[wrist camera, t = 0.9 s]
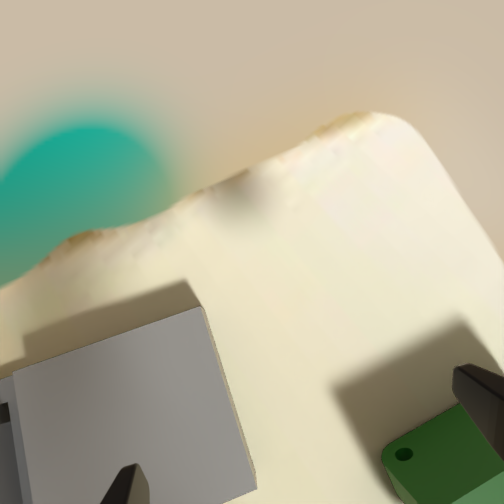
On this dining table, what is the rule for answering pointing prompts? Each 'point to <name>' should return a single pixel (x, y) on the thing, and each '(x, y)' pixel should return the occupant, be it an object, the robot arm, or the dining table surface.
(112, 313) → the dining table surface
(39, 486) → the socket block
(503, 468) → the clamp
